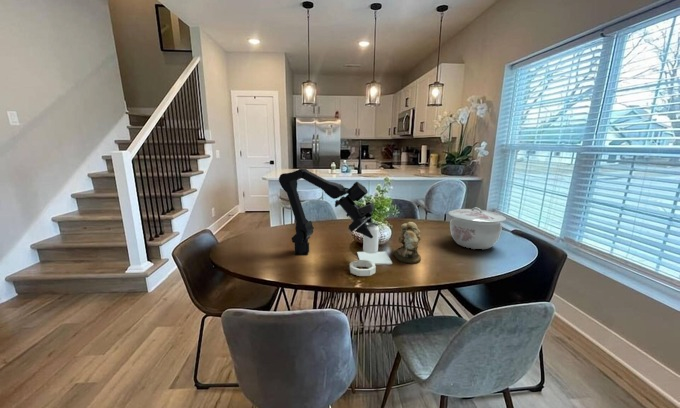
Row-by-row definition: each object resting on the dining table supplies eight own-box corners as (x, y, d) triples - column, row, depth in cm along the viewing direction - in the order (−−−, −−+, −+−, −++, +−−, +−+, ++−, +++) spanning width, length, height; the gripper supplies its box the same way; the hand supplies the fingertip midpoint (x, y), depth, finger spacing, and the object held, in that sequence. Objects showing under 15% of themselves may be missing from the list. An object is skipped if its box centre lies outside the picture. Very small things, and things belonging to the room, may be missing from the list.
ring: (351, 276, 115) (351, 270, 114) (349, 265, 125) (349, 260, 125) (376, 275, 115) (377, 270, 115) (372, 265, 126) (372, 259, 125)
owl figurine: (389, 250, 144) (391, 217, 141) (411, 250, 146) (414, 217, 142) (400, 264, 127) (402, 227, 123) (426, 264, 128) (429, 227, 125)
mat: (360, 264, 126) (360, 263, 126) (357, 253, 140) (357, 251, 140) (392, 264, 127) (392, 263, 127) (385, 252, 141) (385, 251, 140)
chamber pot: (501, 259, 134) (507, 216, 130) (440, 248, 148) (444, 209, 144) (502, 242, 158) (507, 205, 154) (450, 234, 171) (453, 200, 167)
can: (376, 254, 122) (377, 227, 119) (361, 252, 124) (362, 225, 121) (379, 249, 128) (380, 223, 125) (365, 247, 130) (365, 221, 127)
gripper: (356, 200, 114) (382, 230, 112) (370, 193, 131) (392, 219, 129) (338, 217, 118) (362, 246, 116) (353, 208, 135) (374, 233, 133)
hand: (374, 235), depth 124 cm, fingers closed on can, 6 cm apart
